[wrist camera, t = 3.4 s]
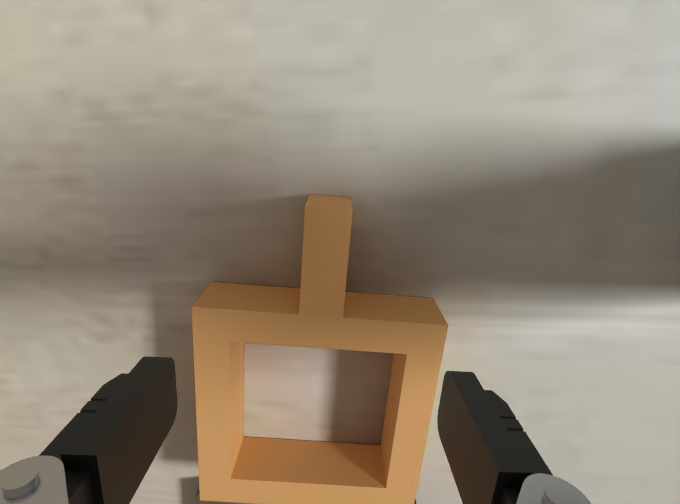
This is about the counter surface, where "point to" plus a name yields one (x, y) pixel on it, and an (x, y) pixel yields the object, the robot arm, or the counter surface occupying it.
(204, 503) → the board
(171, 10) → the counter surface
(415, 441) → the orange square frame tab
